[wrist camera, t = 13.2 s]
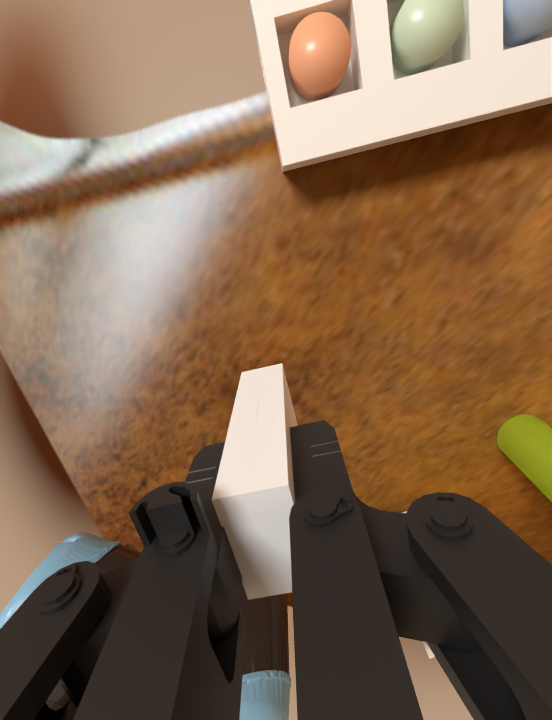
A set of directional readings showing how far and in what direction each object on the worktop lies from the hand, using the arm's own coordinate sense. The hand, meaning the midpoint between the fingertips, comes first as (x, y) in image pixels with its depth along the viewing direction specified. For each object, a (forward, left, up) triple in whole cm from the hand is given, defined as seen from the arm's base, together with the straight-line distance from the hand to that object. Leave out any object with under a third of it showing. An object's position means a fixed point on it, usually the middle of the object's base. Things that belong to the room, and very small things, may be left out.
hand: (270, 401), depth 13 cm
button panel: (+16, +17, -27) cm, 36 cm away
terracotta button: (+7, +17, -26) cm, 32 cm away
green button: (+16, +17, -26) cm, 35 cm away
